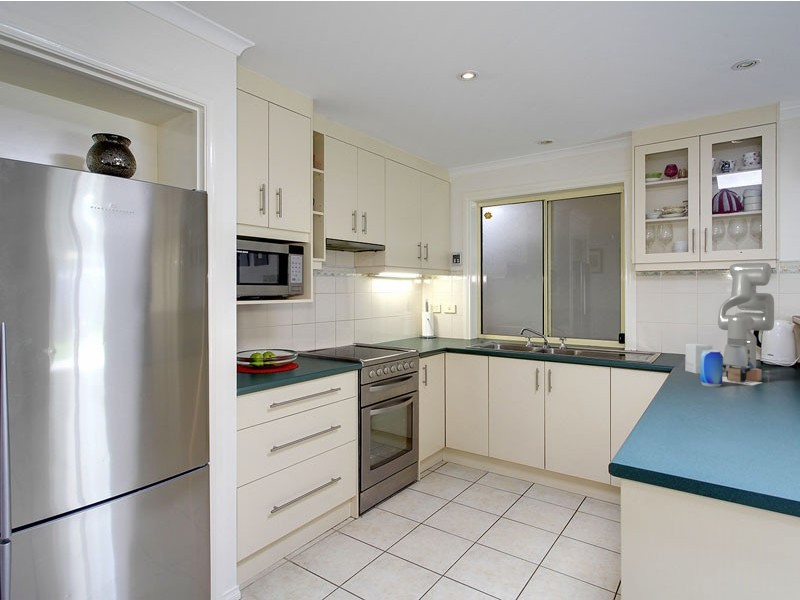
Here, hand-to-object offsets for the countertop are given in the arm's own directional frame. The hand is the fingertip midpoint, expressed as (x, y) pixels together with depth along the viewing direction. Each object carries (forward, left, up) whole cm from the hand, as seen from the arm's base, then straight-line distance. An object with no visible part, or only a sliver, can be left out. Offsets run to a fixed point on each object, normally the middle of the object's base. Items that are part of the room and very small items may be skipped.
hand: (736, 379), depth 217 cm
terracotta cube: (-10, +3, -1) cm, 10 cm away
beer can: (+21, -2, -1) cm, 21 cm away
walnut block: (0, 0, -1) cm, 1 cm away
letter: (0, 0, -1) cm, 1 cm away
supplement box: (-10, -21, -1) cm, 23 cm away
